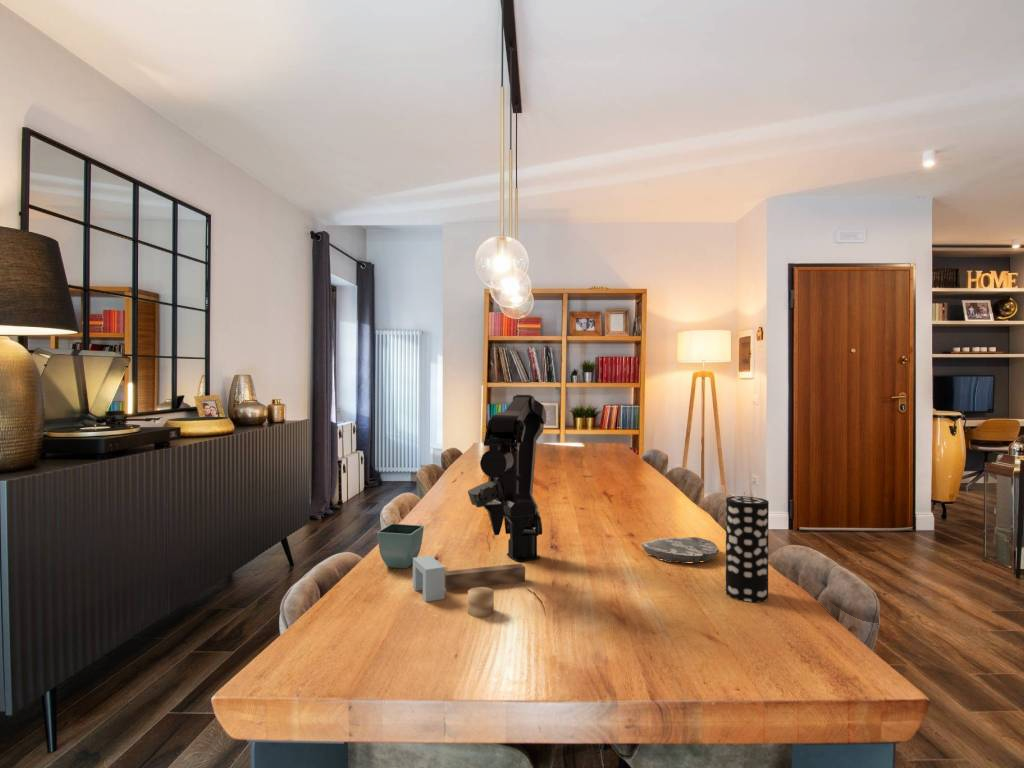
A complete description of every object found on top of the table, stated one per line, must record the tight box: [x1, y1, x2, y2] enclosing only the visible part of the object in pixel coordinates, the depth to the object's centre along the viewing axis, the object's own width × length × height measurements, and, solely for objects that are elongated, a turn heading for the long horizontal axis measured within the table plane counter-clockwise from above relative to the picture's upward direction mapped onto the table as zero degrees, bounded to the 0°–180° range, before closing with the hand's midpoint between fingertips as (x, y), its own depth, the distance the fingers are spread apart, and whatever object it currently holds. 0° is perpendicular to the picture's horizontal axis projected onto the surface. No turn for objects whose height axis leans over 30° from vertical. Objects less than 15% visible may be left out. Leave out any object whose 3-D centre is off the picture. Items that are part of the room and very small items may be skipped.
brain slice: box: [641, 536, 720, 563], centre depth 149 cm, size 20×17×3 cm
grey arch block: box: [412, 555, 446, 602], centre depth 122 cm, size 4×9×6 cm, turn 27°
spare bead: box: [467, 586, 495, 618], centre depth 112 cm, size 5×5×4 cm
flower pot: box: [376, 523, 425, 569], centre depth 141 cm, size 9×9×9 cm
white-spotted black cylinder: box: [725, 495, 770, 603], centre depth 122 cm, size 8×8×20 cm
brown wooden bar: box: [444, 563, 526, 592], centre depth 128 cm, size 18×3×4 cm, turn 109°
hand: (505, 539), depth 130 cm, fingers open, 9 cm apart
